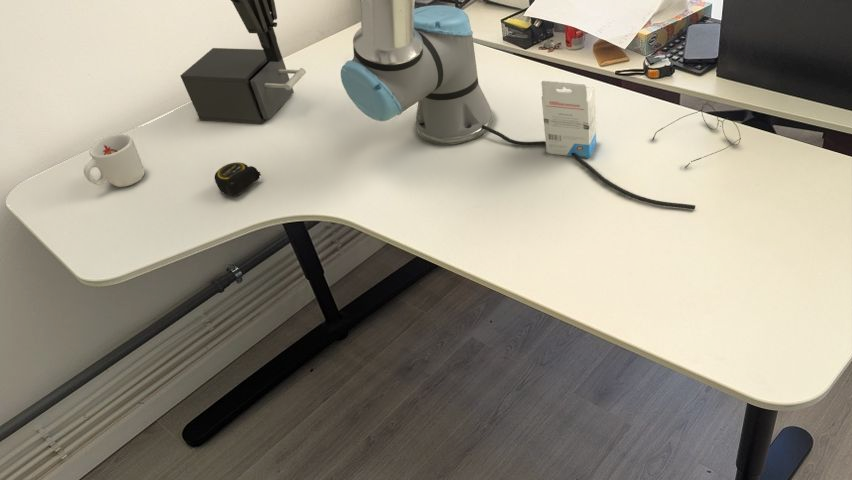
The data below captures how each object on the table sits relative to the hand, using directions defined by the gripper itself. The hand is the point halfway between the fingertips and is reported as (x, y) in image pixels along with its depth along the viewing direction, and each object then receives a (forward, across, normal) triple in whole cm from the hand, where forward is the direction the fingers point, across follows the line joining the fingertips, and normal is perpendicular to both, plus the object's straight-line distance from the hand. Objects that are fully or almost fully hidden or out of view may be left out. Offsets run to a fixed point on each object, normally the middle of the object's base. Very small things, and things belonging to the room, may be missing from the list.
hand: (274, 59), depth 149 cm
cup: (+12, +30, -22) cm, 39 cm away
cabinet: (+12, 0, -12) cm, 16 cm away
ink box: (+11, +8, +63) cm, 65 cm away
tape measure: (+12, +28, +4) cm, 31 cm away
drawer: (+11, 0, -6) cm, 12 cm away
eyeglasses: (+11, +4, +85) cm, 86 cm away
